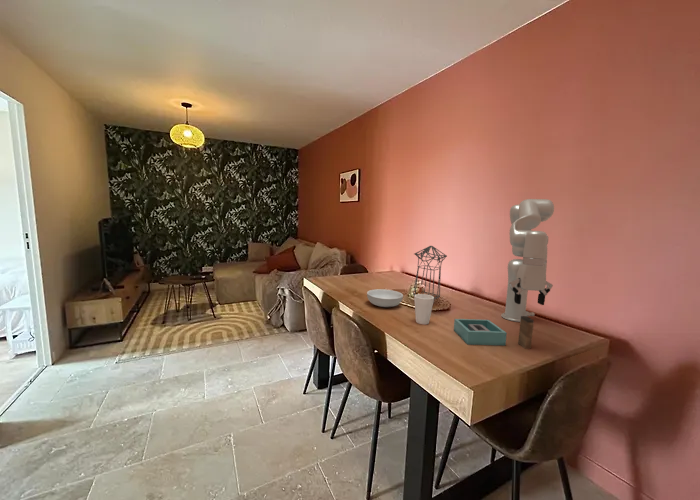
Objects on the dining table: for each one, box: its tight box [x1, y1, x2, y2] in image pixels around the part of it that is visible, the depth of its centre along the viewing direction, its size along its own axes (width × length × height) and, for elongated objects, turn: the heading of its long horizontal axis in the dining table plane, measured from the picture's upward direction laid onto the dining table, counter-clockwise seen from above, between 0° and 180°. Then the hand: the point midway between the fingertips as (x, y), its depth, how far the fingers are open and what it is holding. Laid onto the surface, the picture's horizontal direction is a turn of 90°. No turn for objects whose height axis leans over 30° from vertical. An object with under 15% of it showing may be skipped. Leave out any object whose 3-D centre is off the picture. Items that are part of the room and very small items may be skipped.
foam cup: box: [413, 293, 435, 325], centre depth 155 cm, size 10×9×13 cm
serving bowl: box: [366, 288, 404, 308], centre depth 182 cm, size 21×21×7 cm
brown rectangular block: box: [517, 316, 535, 350], centre depth 130 cm, size 2×5×12 cm, turn 2°
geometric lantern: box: [412, 245, 448, 301], centre depth 189 cm, size 16×16×35 cm
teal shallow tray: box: [453, 318, 508, 346], centre depth 138 cm, size 16×16×6 cm
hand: (529, 303), depth 128 cm, fingers open, 9 cm apart
